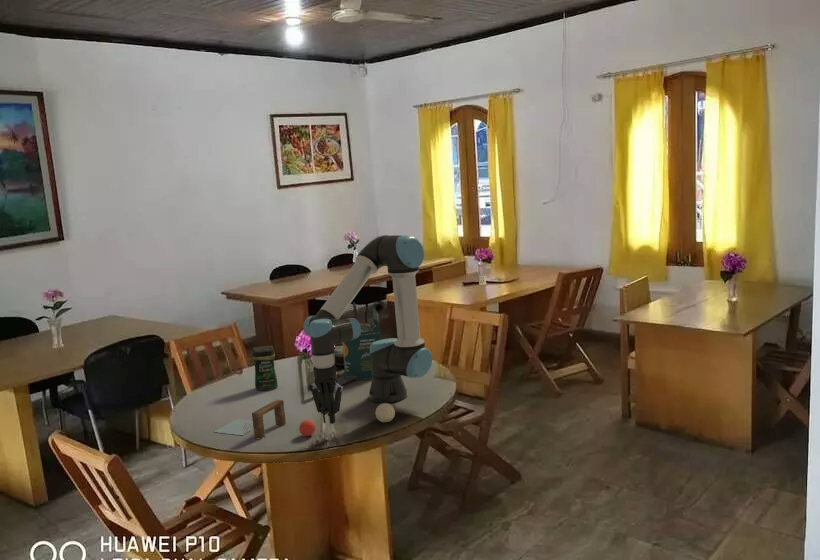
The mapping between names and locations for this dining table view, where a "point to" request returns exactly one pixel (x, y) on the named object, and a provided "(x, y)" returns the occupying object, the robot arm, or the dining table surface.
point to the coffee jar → (264, 368)
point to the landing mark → (234, 427)
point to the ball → (307, 428)
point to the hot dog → (339, 355)
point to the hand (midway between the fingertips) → (330, 432)
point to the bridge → (258, 415)
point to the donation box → (361, 350)
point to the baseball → (385, 412)
